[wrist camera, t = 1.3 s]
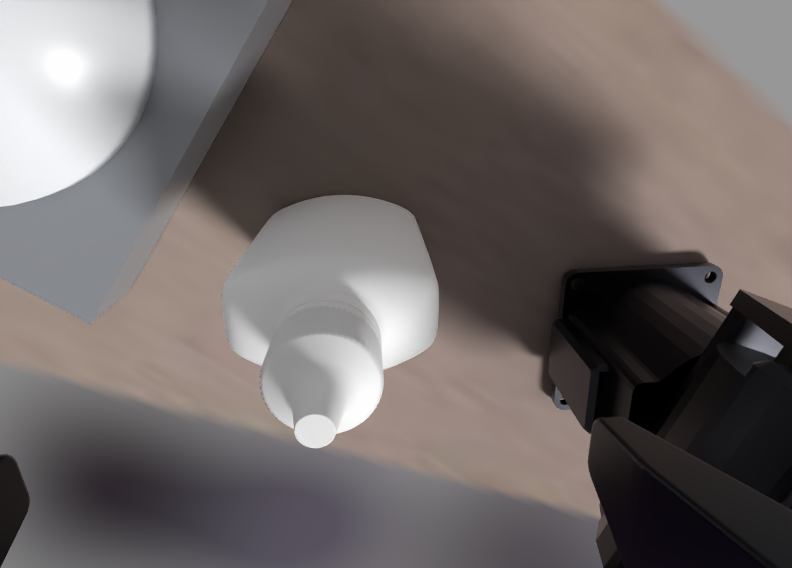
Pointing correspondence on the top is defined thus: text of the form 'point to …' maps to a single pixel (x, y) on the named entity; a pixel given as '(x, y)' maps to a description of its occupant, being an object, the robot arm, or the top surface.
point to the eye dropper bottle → (331, 309)
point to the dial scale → (110, 131)
